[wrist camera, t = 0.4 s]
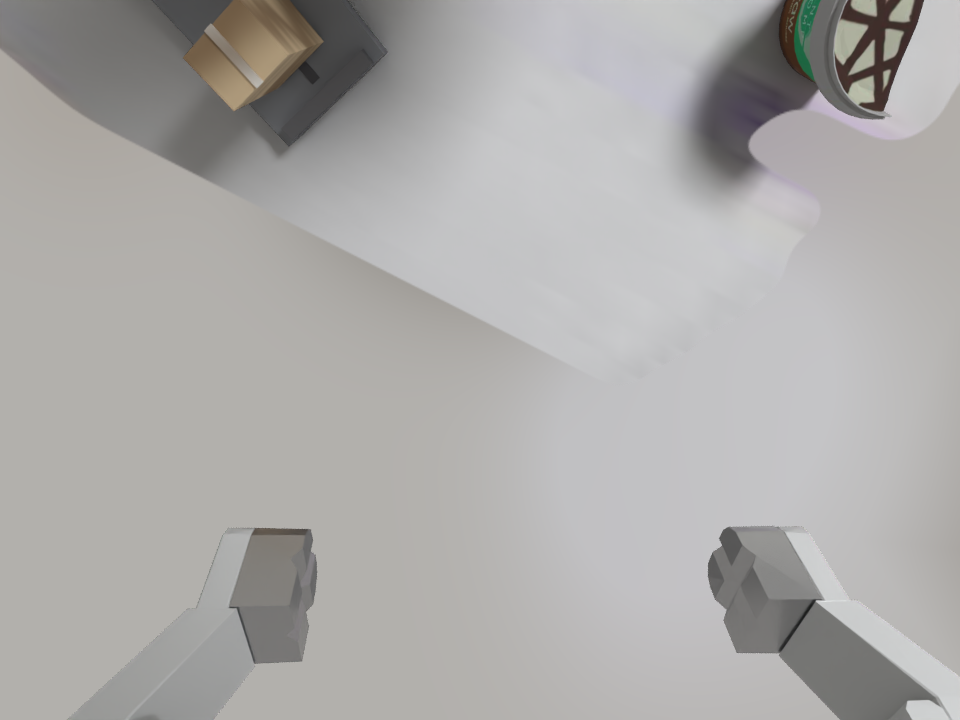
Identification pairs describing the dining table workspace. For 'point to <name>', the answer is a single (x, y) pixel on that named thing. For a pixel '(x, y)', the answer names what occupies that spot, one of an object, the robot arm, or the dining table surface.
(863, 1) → the food container
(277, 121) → the fader track
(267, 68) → the fader knob
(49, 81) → the dining table surface
